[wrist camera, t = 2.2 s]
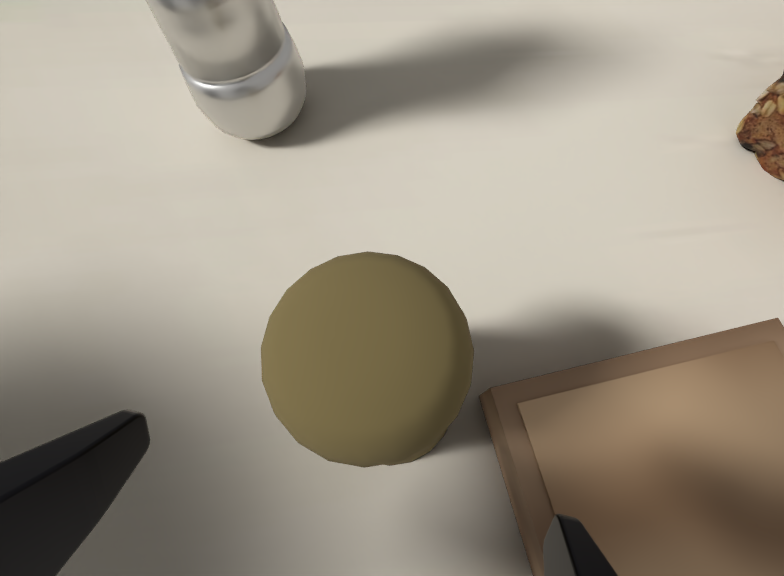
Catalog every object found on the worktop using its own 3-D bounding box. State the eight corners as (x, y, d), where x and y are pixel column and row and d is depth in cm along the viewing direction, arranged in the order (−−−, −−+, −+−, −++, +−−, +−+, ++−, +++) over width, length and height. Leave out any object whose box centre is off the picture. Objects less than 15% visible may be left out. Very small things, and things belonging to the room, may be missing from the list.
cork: (429, 317, 20) (443, 183, 10) (474, 439, 18) (557, 434, 7) (313, 354, 19) (200, 256, 9) (345, 485, 17) (244, 544, 7)
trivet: (900, 650, 14) (1025, 704, 11) (582, 738, 14) (627, 817, 11) (723, 336, 19) (780, 316, 16) (478, 396, 18) (490, 387, 15)
